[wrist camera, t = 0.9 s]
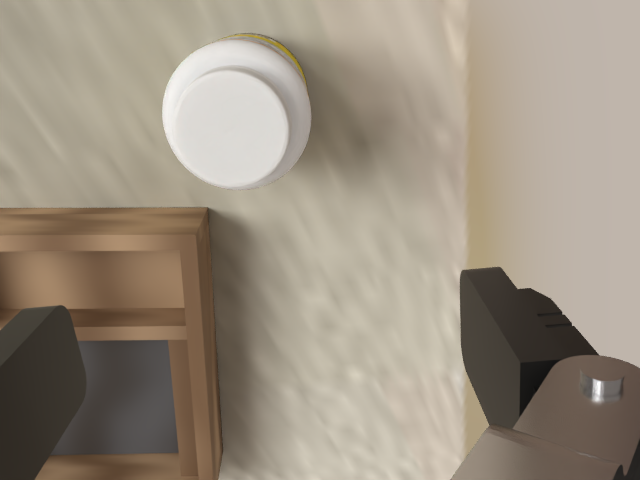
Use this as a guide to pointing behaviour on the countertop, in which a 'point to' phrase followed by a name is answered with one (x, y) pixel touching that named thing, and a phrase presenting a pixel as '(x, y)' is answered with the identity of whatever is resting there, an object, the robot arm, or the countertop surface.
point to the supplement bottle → (238, 112)
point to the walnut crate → (125, 334)
